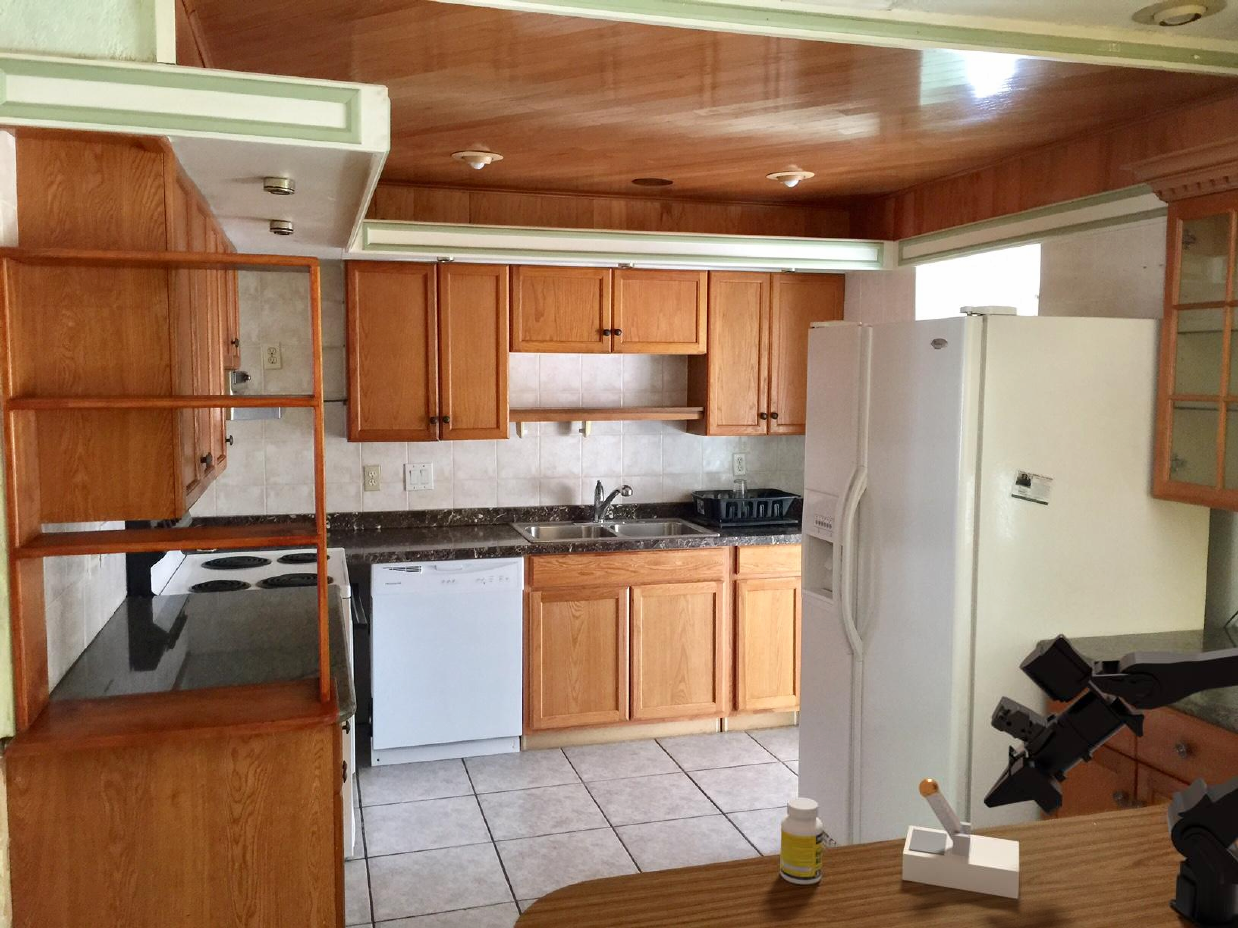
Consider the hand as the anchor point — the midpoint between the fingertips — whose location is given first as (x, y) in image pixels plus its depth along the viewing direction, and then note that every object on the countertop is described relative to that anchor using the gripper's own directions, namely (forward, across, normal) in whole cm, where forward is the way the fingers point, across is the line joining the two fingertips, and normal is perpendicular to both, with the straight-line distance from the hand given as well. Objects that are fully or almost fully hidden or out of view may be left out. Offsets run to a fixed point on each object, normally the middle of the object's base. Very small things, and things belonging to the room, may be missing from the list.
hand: (986, 803), depth 133 cm
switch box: (+9, 0, +5) cm, 10 cm away
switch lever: (+6, 0, +2) cm, 6 cm away
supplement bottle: (+23, +8, -9) cm, 26 cm away
